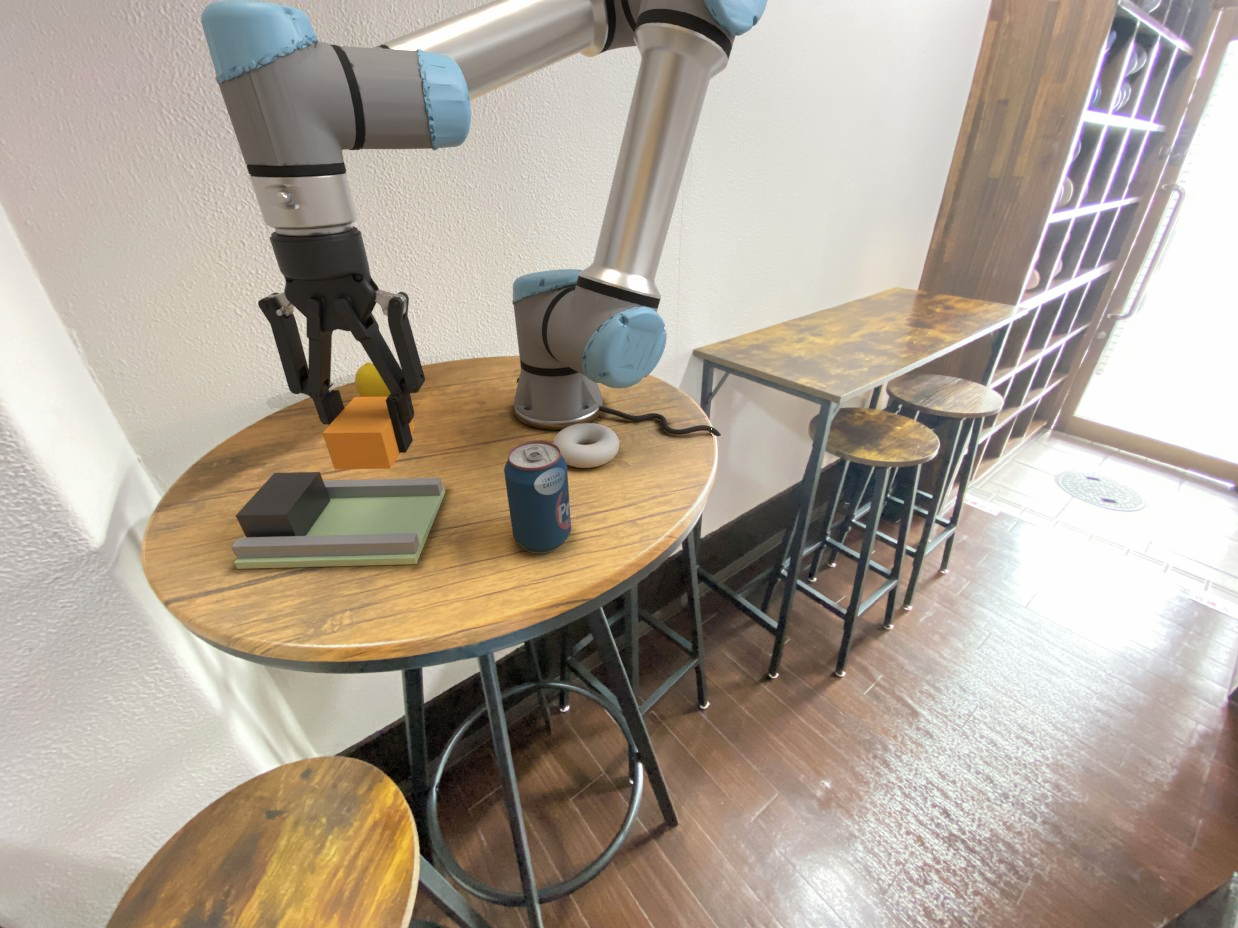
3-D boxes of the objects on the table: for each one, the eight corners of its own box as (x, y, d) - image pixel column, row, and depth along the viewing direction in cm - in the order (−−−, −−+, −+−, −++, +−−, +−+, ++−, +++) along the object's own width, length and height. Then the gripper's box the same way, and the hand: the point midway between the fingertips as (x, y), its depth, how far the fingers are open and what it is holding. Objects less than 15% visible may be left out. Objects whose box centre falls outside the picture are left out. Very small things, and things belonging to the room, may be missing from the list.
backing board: (445, 492, 72) (438, 457, 69) (416, 564, 61) (405, 526, 58) (295, 495, 72) (281, 461, 69) (237, 568, 60) (217, 531, 57)
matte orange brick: (414, 430, 65) (406, 396, 62) (391, 468, 57) (381, 432, 55) (364, 430, 64) (354, 396, 62) (334, 469, 57) (322, 432, 55)
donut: (540, 460, 79) (595, 479, 75) (537, 440, 77) (594, 458, 73) (579, 432, 86) (632, 448, 82) (577, 413, 84) (631, 428, 80)
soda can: (577, 551, 62) (572, 465, 56) (517, 562, 61) (505, 475, 54) (565, 515, 68) (559, 433, 61) (510, 525, 66) (498, 442, 60)
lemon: (402, 402, 95) (391, 360, 91) (375, 415, 91) (363, 371, 87) (382, 395, 98) (371, 354, 93) (355, 407, 94) (342, 364, 89)
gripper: (179, 235, 45) (274, 466, 57) (407, 235, 45) (452, 463, 58) (231, 221, 51) (307, 431, 64) (431, 221, 52) (467, 430, 64)
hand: (376, 446), depth 61 cm, fingers closed on matte orange brick, 6 cm apart
